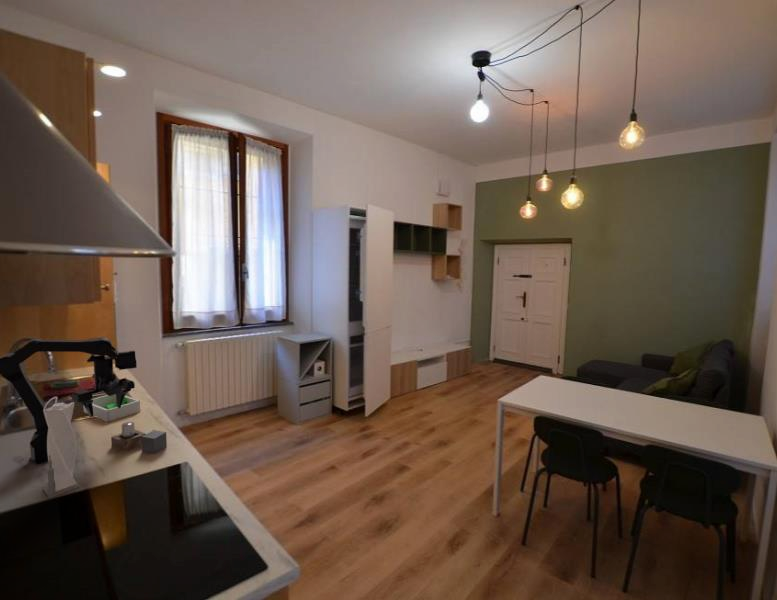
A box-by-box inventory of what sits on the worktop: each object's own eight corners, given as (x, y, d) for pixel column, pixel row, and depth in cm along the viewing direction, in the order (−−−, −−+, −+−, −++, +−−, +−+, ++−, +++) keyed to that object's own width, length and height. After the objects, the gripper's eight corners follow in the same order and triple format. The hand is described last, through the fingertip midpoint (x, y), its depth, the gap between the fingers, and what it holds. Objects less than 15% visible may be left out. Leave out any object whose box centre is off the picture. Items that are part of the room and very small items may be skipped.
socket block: (123, 452, 141) (123, 442, 141) (111, 447, 145) (111, 436, 144) (146, 443, 148) (145, 433, 148) (133, 438, 152) (133, 428, 152)
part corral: (107, 421, 166) (106, 410, 166) (83, 412, 175) (82, 401, 175) (140, 411, 178) (140, 400, 178) (116, 402, 188) (116, 392, 187)
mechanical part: (106, 409, 179) (105, 393, 179) (121, 406, 184) (120, 389, 183) (113, 417, 172) (113, 399, 171) (129, 413, 176) (128, 396, 175)
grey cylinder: (126, 447, 144) (125, 427, 143) (120, 445, 146) (119, 424, 145) (137, 443, 147) (136, 423, 146) (131, 440, 149) (130, 420, 148)
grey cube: (154, 454, 141) (154, 438, 140) (141, 452, 142) (141, 436, 141) (166, 447, 146) (166, 432, 146) (154, 445, 148) (153, 430, 147)
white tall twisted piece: (42, 487, 119) (36, 399, 116) (74, 476, 126) (69, 392, 123) (49, 498, 114) (43, 406, 111) (83, 485, 121) (78, 399, 118)
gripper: (86, 382, 131) (88, 426, 133) (142, 369, 148) (143, 408, 149) (69, 376, 136) (72, 419, 138) (125, 364, 153) (127, 402, 155)
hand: (105, 412), depth 145 cm, fingers open, 9 cm apart
